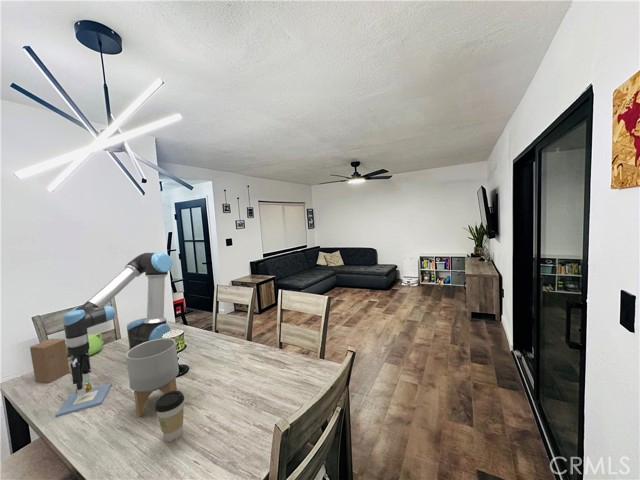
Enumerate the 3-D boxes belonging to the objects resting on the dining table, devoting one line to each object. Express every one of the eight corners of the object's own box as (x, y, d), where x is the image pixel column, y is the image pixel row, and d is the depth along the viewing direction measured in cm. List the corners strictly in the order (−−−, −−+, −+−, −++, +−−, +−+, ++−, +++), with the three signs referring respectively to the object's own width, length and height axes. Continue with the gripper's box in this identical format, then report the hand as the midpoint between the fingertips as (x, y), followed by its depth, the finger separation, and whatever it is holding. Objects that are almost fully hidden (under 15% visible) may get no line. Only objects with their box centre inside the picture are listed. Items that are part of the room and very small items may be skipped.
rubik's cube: (76, 395, 123) (73, 387, 122) (88, 387, 128) (85, 379, 127) (81, 397, 122) (78, 388, 121) (93, 389, 126) (90, 380, 125)
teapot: (72, 366, 157) (68, 345, 156) (56, 362, 162) (53, 342, 161) (111, 348, 178) (108, 329, 177) (96, 345, 183) (94, 327, 182)
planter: (190, 392, 126) (184, 340, 124) (154, 421, 108) (147, 361, 106) (161, 386, 132) (155, 336, 130) (122, 413, 114) (115, 356, 112)
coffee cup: (166, 426, 105) (162, 391, 104) (192, 423, 106) (188, 388, 105) (153, 447, 96) (148, 408, 94) (181, 443, 96) (176, 405, 95)
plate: (111, 384, 135) (111, 382, 135) (101, 404, 121) (101, 401, 121) (71, 395, 129) (71, 393, 129) (55, 417, 114) (55, 414, 114)
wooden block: (49, 383, 140) (43, 347, 139) (35, 382, 142) (29, 346, 141) (70, 372, 150) (65, 338, 148) (56, 371, 152) (51, 338, 150)
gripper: (76, 338, 129) (82, 382, 131) (57, 355, 112) (64, 406, 114) (95, 334, 133) (100, 378, 134) (80, 350, 116) (86, 400, 117)
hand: (84, 390), depth 124 cm, fingers closed on rubik's cube, 6 cm apart
